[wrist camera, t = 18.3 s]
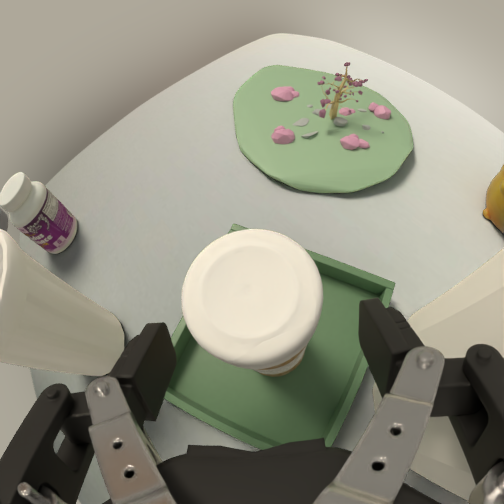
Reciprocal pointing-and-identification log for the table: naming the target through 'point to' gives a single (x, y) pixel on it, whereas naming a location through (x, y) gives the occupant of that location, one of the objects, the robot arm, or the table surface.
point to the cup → (51, 320)
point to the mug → (496, 201)
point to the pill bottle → (38, 213)
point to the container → (455, 346)
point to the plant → (319, 130)
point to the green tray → (292, 384)
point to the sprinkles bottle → (253, 300)
